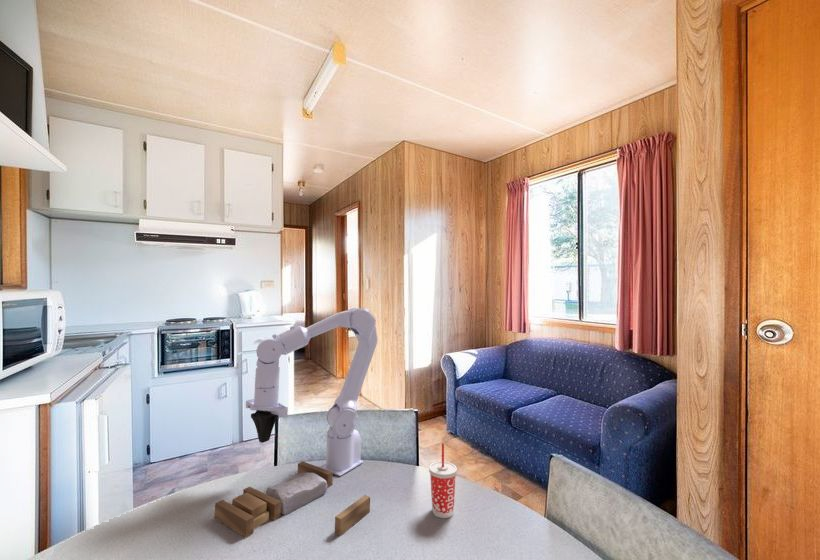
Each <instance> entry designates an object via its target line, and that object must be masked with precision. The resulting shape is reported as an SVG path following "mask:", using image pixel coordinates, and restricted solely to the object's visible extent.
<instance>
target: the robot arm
mask: <svg viewBox="0 0 820 560" xmlns="http://www.w3.org/2000/svg"><path fill="white" fill-rule="evenodd" d="M376 322H377V320H376V318H375V317H374V315H373V314H372V312H371V311H370V310H369V309H368V308H365V307H359V308H355V307H353V308H350V309H348V310H344V311H341V312H340V311H339V312H337V313H334V314H332V315H330V316H328V317H326V318H323V319H321V320H319V321H318V322H315V323H314V324H311V325H309V326H307V327H304V326H301V325H298V326H295V325H292V326H290V327H289V329H287V330H286V331H283V332H282V333H278V334H276V333H274V334H272V336H271V337H272V338H266V339H263V340H262V341H261V342H259V344H258V345H257V348H256V356H257V361H256V368H255V377H254V380H255V381H254V394H253V395H254V397H253V398H252V399H247V400H245V409H249V410H250V411H253V413H251V414H250V419H252V422H253V423H254V425H255V426H254V427H255V429H256V433H257V439H258V441H259V443H261V444H264V443H266V442H269V441H270V439H271V436H272V431H273V429H274V427H275V425H276V422H277V420H278V419H279V418H283V417H286V416H288V413H289V412H288V411H289V410H288V407H287V406H285V405H283V404H282V403H281V402H279V393H280V392H279V390H280V389H279V388H280V370H281V369H280V366H279V365H280V358H281V356H282V355H284V356H286V355H288V354H291V353H292V352H295V351H297V350H299V349H301V348H303V347H306V346H308V344H309V342H310V341H311V338H314V337H317V336H318V335H322V334H324V333H327V332H329V331H332V330H334V329H336V328H349V329H350V330H351V331H352V333H353V335H355V338H356V340H357V341H358V344H357V347H356V349H355V352H354V355H353V358H352V360H351V363H350V366H349V368H348V371H347V374H346V377H345V380H344V382H343V385H342V388H341V391H340V393H339V396H337V397H336V399H335V401H334V403H333V405H332V406H331V407H330V408H329V410H328V411H327V413H326V421H327V424H328V425H329V428H328V430H327V432H326V452H325V453H326V454H325V455H326V459H325V463H324V464H321V465H320V466H319V467H320V468H323V469H326V470H328V471H331V472H333V475H335V476H338V477H341V476H343V475H345V474H347V473H348V472H350V471H351V470H354V469H355V468H357V467H358V466H359V465H362V464H363V463H364V461H363V460H362V459H361V456H362V455H361V454H362V453H361V452H362V449H361V447H362V438H361V437H362V436H361V435H360V432H359V431H358V430H357V429H355V428H356V424H357V422H356V415H357V412H358V399H359V396H360V394H361V390H362V387H363V384H364V382H365V380H366V376H367V373H368V371H369V368H370V364H371V362H372V358H373V356H374V353H375V350H376V348H377V344H378V335H377V328H376Z"/></svg>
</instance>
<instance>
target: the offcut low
mask: <svg viewBox="0 0 820 560" xmlns="http://www.w3.org/2000/svg"><path fill="white" fill-rule="evenodd" d="M269 520H270V518H269V512H268V511H266V512H265V513H264V514H262V515H260V516H258V517H256V518H255V519H254V528H253V531H254V530H255V529H257V528H258V527H260V526H262V525H263V524H265V523H267V522H268V521H269Z"/></svg>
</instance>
